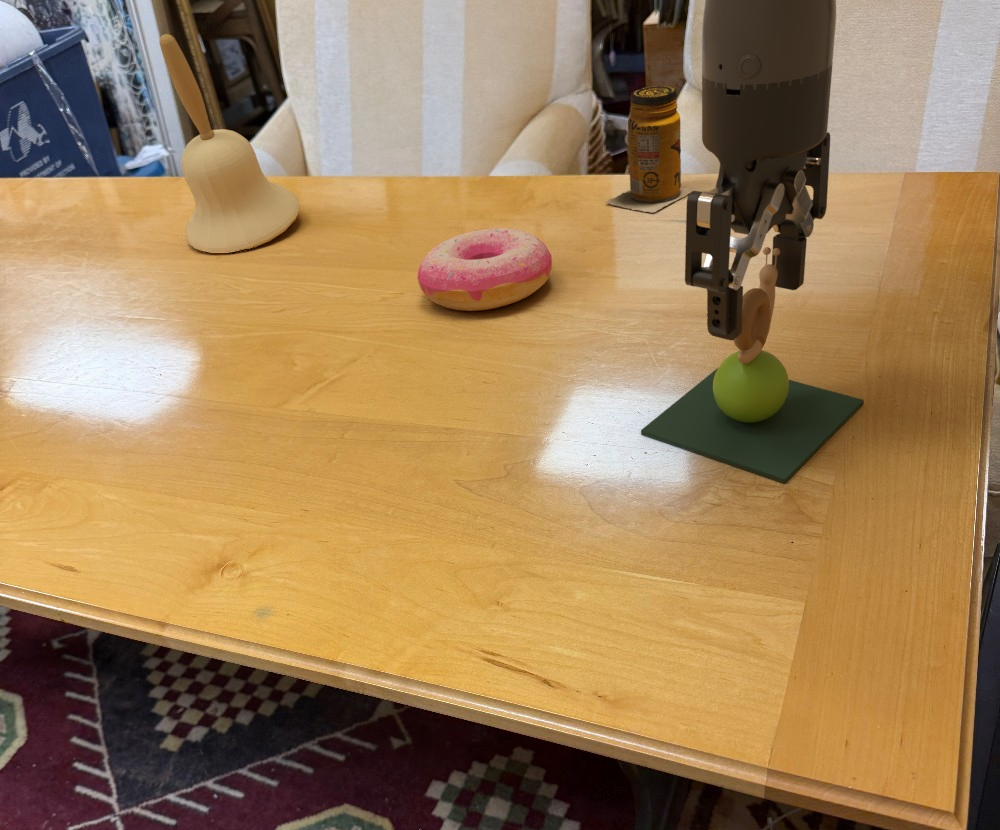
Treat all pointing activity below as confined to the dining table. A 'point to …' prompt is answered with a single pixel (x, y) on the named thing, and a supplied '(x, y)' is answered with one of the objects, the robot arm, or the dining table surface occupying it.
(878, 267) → the dining table surface
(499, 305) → the donut
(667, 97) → the condiment
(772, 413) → the snail figurine
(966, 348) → the dining table surface
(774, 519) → the dining table surface
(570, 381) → the dining table surface
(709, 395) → the mat
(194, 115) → the handbell
